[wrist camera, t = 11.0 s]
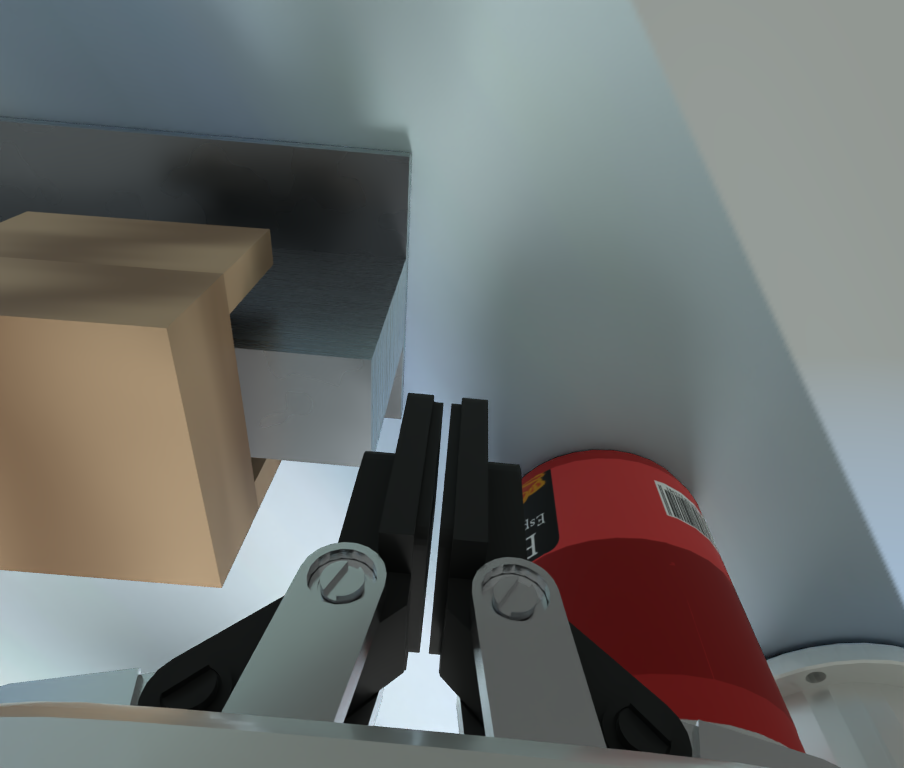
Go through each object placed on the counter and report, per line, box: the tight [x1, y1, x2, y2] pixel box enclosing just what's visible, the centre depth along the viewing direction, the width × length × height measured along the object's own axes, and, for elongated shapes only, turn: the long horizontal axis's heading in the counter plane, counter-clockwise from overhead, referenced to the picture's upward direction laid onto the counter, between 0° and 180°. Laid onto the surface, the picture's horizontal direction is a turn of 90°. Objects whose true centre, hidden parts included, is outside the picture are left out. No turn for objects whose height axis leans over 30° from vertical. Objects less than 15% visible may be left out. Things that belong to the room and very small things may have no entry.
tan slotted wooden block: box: [0, 211, 281, 588], centre depth 14 cm, size 6×6×6 cm
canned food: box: [522, 450, 806, 753], centre depth 20 cm, size 8×8×11 cm
